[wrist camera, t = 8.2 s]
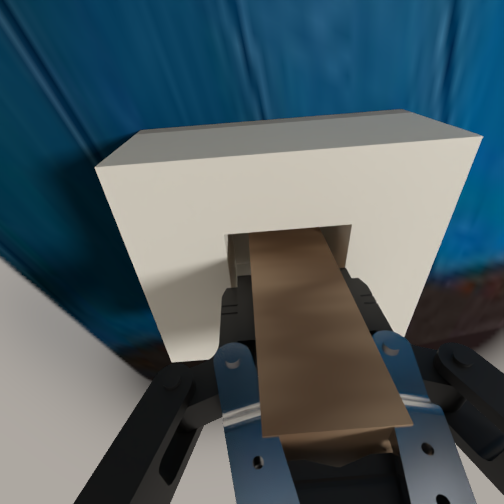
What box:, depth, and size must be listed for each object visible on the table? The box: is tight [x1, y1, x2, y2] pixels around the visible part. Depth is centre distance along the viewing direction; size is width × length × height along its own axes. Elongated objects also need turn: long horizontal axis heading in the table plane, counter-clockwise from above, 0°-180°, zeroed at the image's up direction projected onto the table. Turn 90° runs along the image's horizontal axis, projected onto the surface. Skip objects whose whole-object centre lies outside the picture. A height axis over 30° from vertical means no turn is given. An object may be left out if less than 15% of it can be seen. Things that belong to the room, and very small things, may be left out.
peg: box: [248, 227, 413, 467], centre depth 12 cm, size 4×4×10 cm
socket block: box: [94, 109, 483, 362], centre depth 16 cm, size 14×12×6 cm
